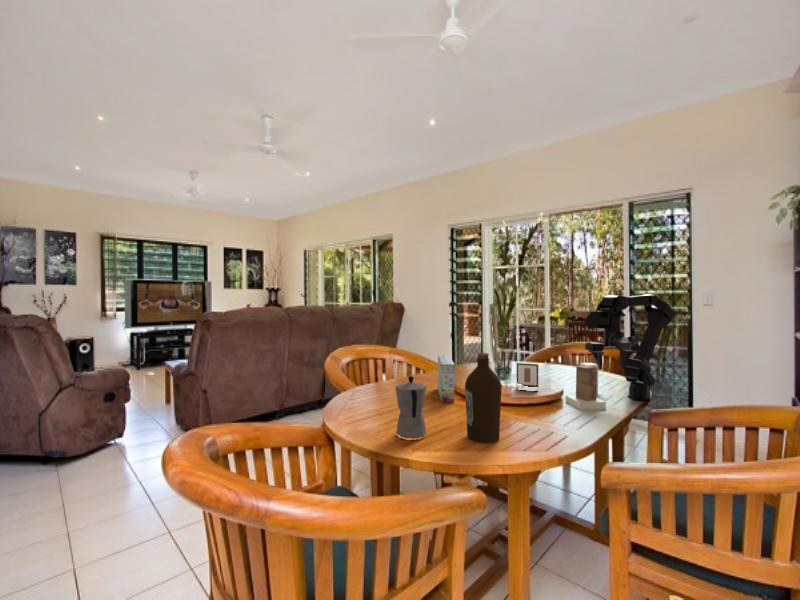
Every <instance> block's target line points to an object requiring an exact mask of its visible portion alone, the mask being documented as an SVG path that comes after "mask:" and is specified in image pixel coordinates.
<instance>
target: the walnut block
mask: <svg viewBox="0 0 800 600" xmlns="http://www.w3.org/2000/svg"><path fill="white" fill-rule="evenodd" d="M575 367H576V369H575V370H576V371H575V373H576V375H575V376H576V377H575V379H576V380H575V381H576V382H575V395H576V398H579V399H582V400H586V401H591V400H596V399H597V398H598V397H597V396H598V395H597V394H598V393H597V367H592V366H587V365H583V366H580V365H577V366H575Z"/></svg>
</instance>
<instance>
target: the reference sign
mask: <svg viewBox="0 0 800 600" xmlns="http://www.w3.org/2000/svg"><path fill="white" fill-rule="evenodd" d="M517 383H518V384H522V385H524V386H528V387H538V388H539V363H525V362H524V363H522V362H516V384H517Z"/></svg>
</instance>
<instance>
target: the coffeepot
mask: <svg viewBox="0 0 800 600" xmlns="http://www.w3.org/2000/svg"><path fill="white" fill-rule="evenodd" d="M407 378H408V381H405V382H402V383H398V384H397V385H396V386H395V394H396V400H397V406H398V409H399V415H398V420H397V424H396V425H397V427H396V431H395V432H396V433H397V434H398V435H400V436H401V437H404V438H412V439H414V438H419V437H424V435H425V434H426V435H427V429H426V425H425V424H426V423H425V419H424V418H425V417H424V413H423V408H424V405H425V397H426V392H427V385H425V384H423V383H421V382H416V381H415V382H414V376H412V375H409V376H408V377H407ZM396 433H395V434H396ZM426 435H425V436H426ZM424 438H425V437H424Z"/></svg>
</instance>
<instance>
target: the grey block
mask: <svg viewBox="0 0 800 600" xmlns="http://www.w3.org/2000/svg"><path fill="white" fill-rule="evenodd" d="M583 365H587V366H592V367H597V394H599V367H598V365H597V363H593V362H580V363H579V366H583Z"/></svg>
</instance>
